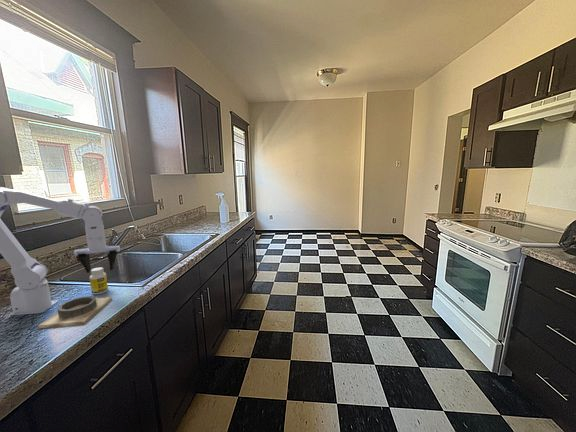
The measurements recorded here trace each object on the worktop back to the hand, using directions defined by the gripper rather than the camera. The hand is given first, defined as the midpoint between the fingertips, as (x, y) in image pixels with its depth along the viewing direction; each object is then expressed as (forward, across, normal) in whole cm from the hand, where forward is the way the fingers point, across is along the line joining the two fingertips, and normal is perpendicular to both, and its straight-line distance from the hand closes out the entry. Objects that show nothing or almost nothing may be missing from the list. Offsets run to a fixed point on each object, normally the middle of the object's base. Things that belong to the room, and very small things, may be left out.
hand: (100, 270), depth 98 cm
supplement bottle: (+10, -2, +3) cm, 11 cm away
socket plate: (+10, -4, -13) cm, 17 cm away
